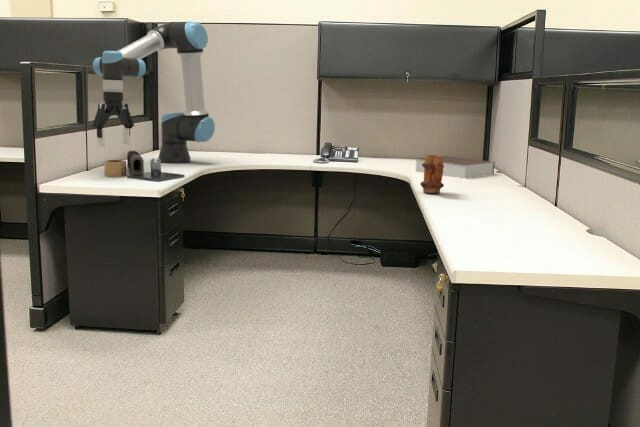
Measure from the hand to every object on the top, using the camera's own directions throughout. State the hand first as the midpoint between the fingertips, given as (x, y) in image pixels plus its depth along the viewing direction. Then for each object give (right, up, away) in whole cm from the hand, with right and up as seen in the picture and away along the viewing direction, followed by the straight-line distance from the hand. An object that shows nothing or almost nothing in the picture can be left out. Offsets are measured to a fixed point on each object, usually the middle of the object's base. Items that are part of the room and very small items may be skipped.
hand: (114, 145), depth 261 cm
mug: (+125, -20, -15) cm, 128 cm away
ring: (0, -12, +3) cm, 12 cm away
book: (+146, -9, +48) cm, 154 cm away
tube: (+3, -9, +19) cm, 21 cm away
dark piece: (+16, -13, +2) cm, 21 cm away
